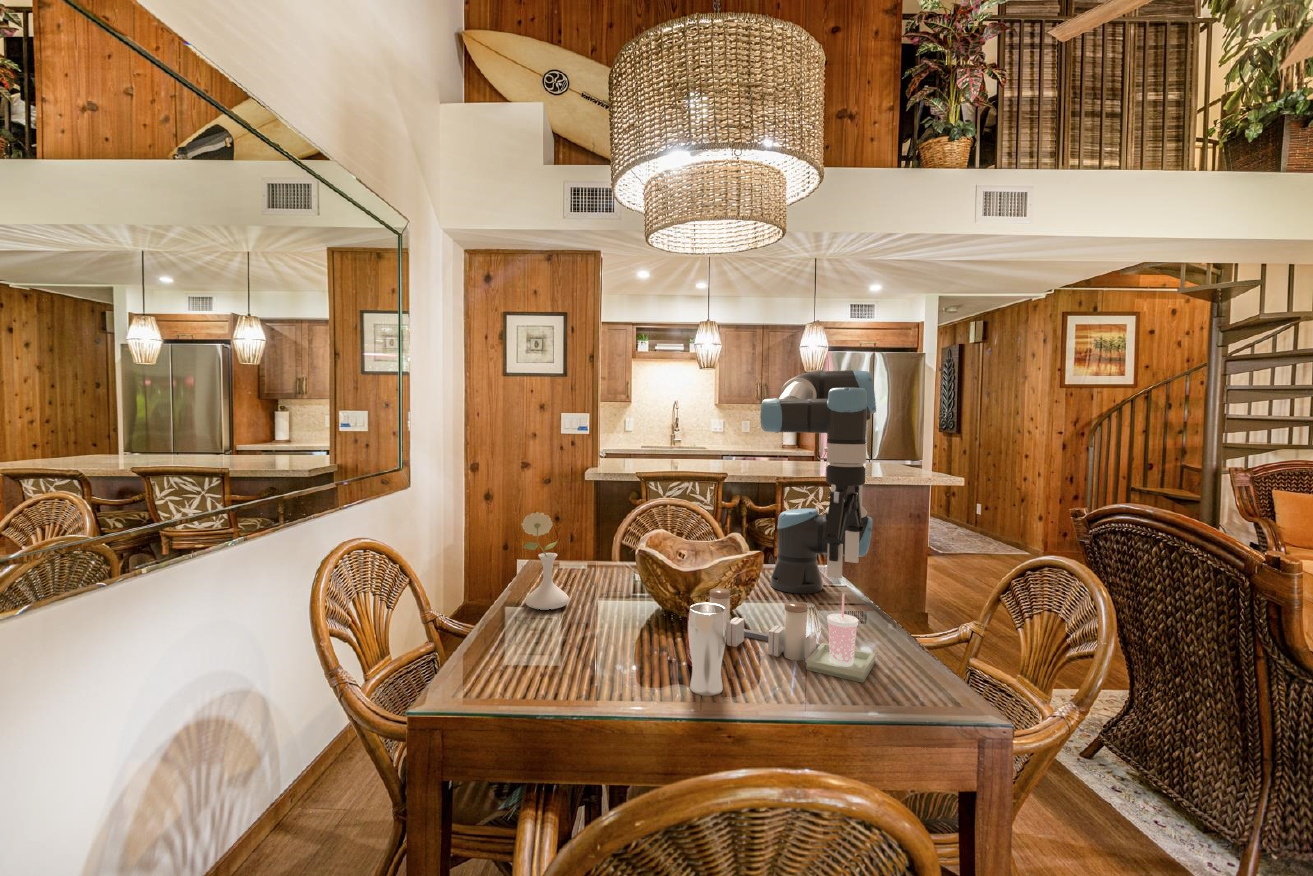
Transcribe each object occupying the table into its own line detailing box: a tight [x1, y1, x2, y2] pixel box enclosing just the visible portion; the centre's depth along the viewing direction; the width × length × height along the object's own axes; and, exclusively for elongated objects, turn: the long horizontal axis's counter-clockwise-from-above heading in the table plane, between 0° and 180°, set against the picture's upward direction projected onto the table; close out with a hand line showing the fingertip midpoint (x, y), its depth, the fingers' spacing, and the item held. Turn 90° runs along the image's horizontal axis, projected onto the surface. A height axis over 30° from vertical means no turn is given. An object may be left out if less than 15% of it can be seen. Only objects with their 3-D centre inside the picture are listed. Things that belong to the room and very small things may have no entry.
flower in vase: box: [520, 511, 570, 611], centre depth 157 cm, size 13×11×25 cm
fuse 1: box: [709, 587, 731, 644], centre depth 135 cm, size 5×5×11 cm
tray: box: [805, 642, 876, 684], centre depth 121 cm, size 11×11×2 cm
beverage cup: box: [826, 593, 860, 667], centre depth 121 cm, size 6×6×14 cm
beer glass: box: [688, 602, 727, 697], centre depth 110 cm, size 7×7×15 cm
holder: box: [726, 617, 821, 664], centre depth 133 cm, size 8×26×5 cm, turn 59°
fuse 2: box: [783, 600, 808, 661], centre depth 126 cm, size 5×5×11 cm
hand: (843, 569), depth 121 cm, fingers open, 13 cm apart
